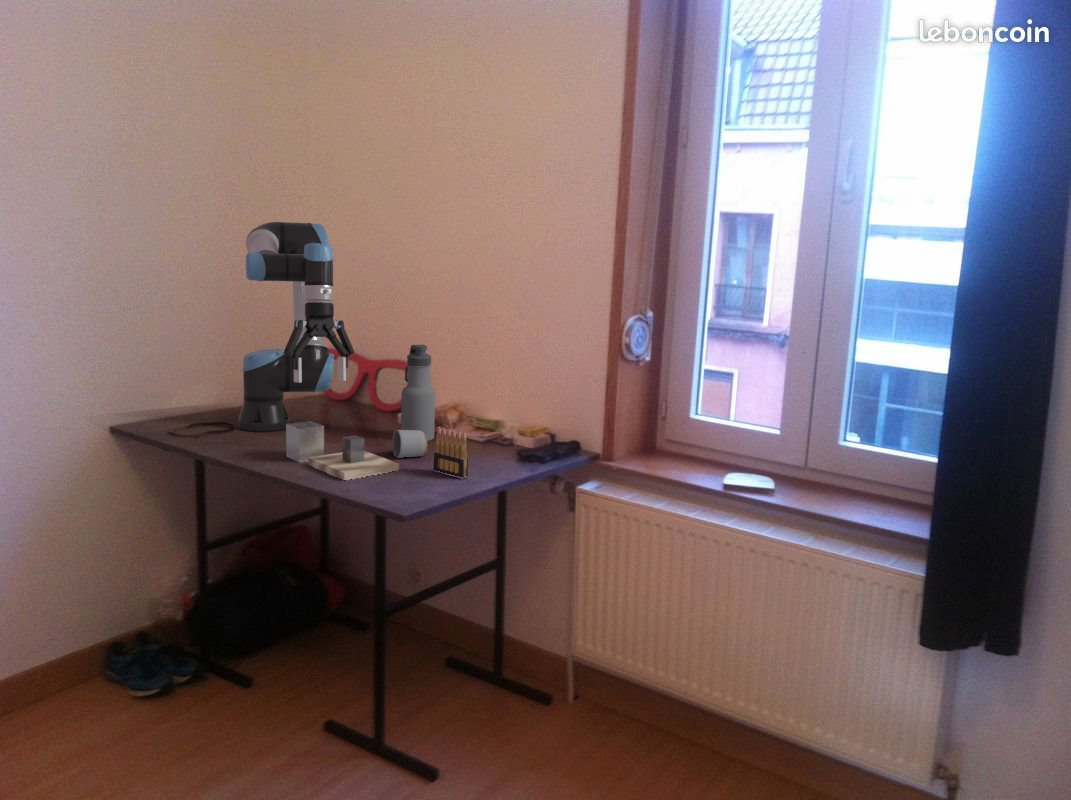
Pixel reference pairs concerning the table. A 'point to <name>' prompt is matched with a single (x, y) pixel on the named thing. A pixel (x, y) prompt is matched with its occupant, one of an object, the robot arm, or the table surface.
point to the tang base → (352, 468)
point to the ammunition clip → (451, 453)
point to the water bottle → (418, 393)
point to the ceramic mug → (409, 443)
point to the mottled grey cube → (304, 440)
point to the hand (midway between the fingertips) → (320, 381)
